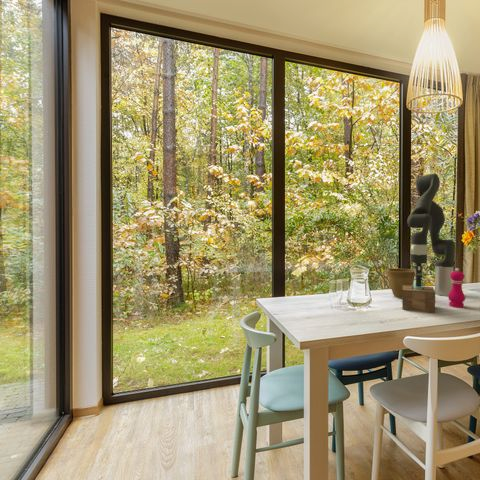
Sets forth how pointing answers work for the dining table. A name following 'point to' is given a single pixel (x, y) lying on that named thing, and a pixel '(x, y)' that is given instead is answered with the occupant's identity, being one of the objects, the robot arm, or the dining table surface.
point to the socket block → (418, 299)
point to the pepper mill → (456, 289)
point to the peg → (417, 286)
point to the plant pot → (400, 280)
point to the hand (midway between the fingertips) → (418, 284)
